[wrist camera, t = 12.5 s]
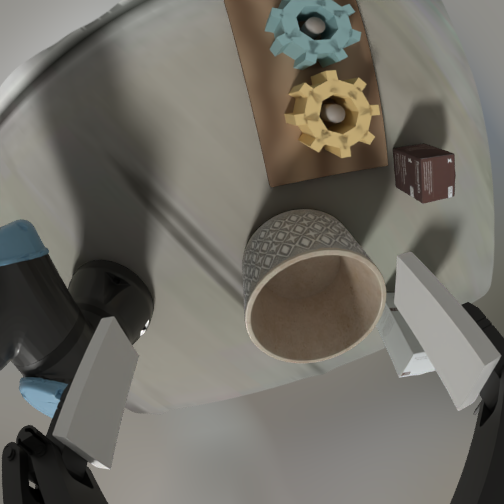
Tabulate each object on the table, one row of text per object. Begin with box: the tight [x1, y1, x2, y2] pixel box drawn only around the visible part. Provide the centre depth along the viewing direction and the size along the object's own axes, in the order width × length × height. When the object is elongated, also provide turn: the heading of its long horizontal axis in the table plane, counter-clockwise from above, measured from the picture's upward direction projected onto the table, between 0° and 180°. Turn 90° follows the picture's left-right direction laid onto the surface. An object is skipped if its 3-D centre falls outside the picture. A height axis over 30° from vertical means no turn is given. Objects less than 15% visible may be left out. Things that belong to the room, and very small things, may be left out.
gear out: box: [284, 70, 380, 158], centre depth 28 cm, size 9×9×6 cm
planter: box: [242, 209, 386, 363], centre depth 37 cm, size 16×16×13 cm
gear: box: [265, 0, 361, 70], centre depth 23 cm, size 9×9×6 cm
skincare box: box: [376, 293, 435, 377], centre depth 41 cm, size 8×6×15 cm
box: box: [393, 144, 455, 204], centre depth 33 cm, size 6×6×7 cm
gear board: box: [224, 0, 388, 187], centre depth 27 cm, size 16×26×7 cm, turn 13°
